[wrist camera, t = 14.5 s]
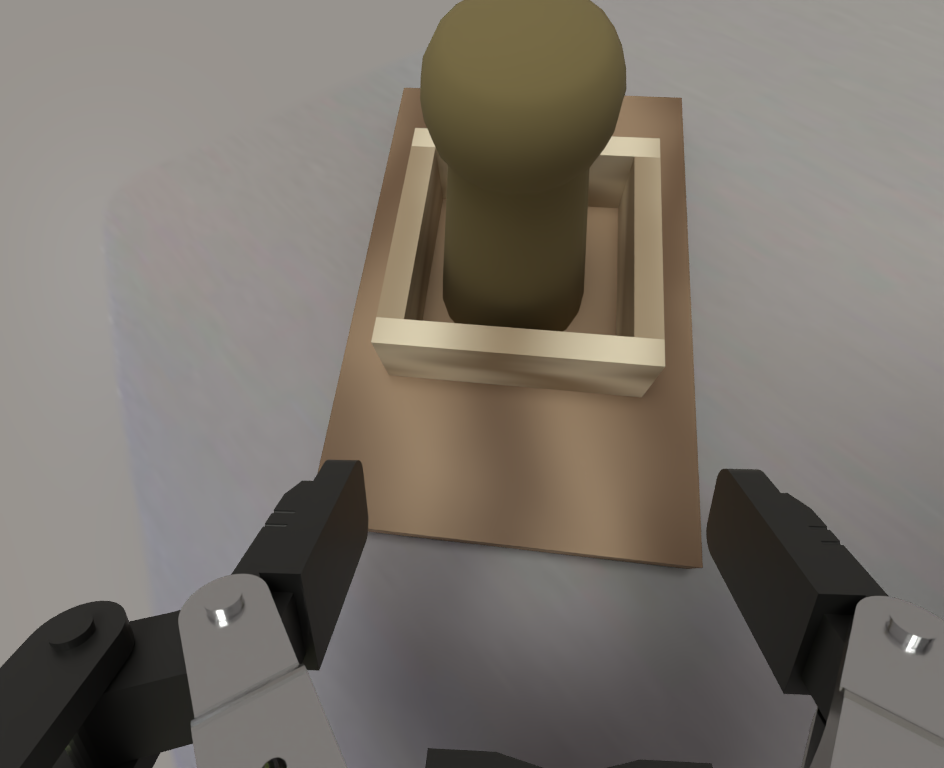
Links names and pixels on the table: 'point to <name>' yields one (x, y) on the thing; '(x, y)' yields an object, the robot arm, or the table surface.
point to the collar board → (532, 370)
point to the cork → (519, 152)
